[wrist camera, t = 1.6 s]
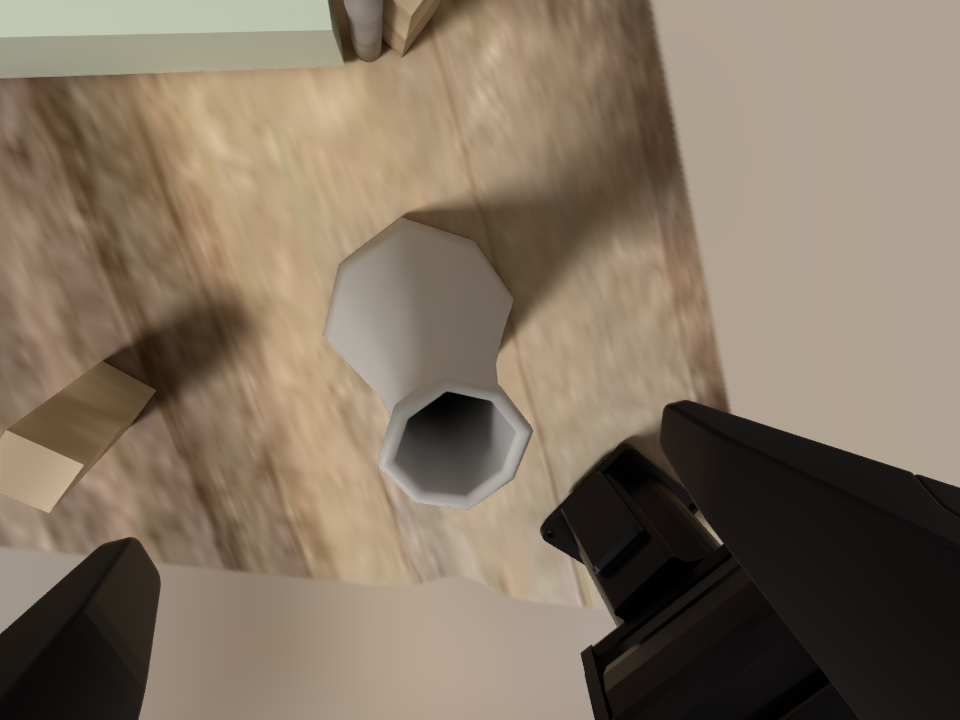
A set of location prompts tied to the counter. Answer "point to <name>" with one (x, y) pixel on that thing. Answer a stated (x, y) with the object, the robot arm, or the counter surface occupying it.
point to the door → (165, 36)
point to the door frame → (110, 392)
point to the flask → (431, 360)
